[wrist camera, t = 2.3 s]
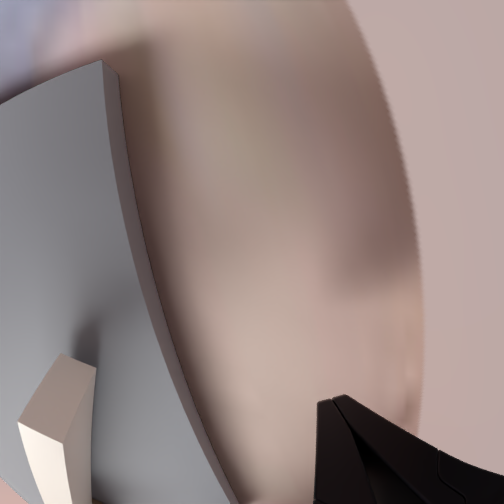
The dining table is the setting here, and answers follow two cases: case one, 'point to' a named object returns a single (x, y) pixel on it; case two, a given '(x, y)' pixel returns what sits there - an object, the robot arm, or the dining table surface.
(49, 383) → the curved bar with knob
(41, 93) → the dial plate
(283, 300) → the dining table surface
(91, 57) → the dining table surface
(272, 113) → the dining table surface
